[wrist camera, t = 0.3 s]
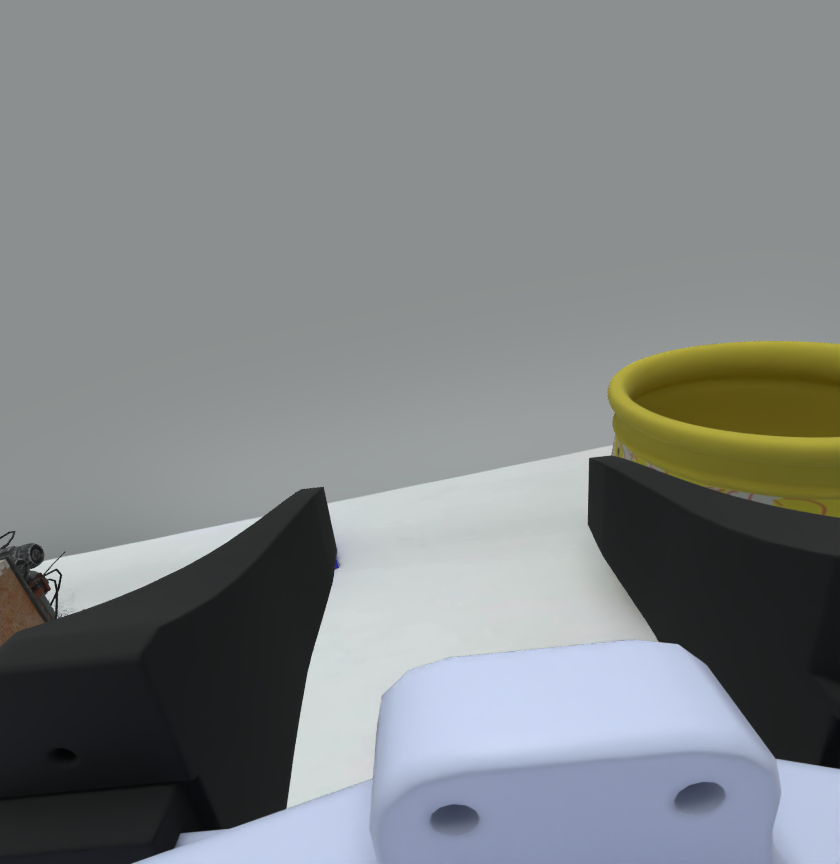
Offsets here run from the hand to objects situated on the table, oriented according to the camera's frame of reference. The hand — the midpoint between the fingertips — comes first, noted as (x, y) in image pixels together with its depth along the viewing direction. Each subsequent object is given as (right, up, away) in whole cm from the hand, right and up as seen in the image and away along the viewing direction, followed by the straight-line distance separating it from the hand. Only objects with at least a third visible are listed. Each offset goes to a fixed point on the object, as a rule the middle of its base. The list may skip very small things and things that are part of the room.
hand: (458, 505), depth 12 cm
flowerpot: (+23, -10, +22) cm, 34 cm away
